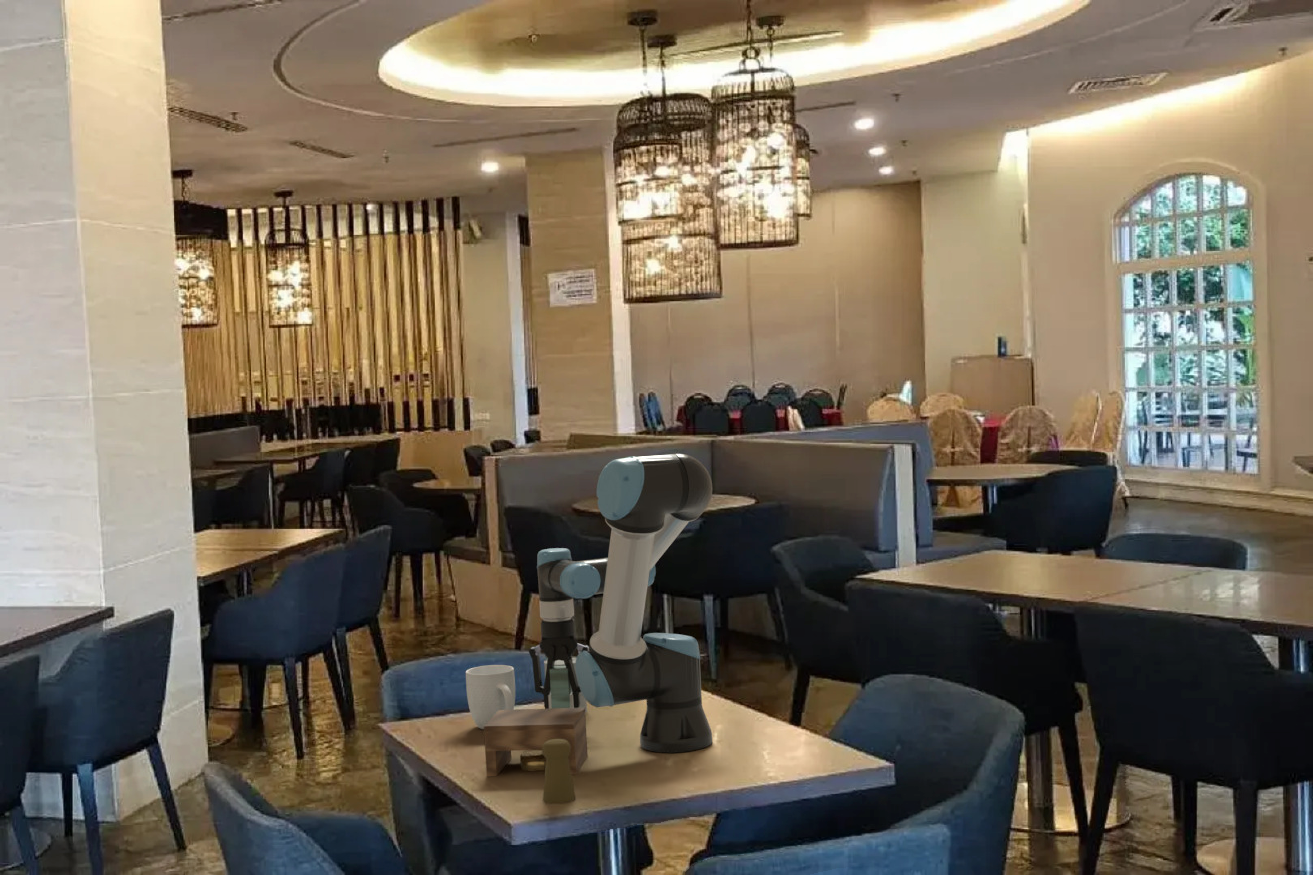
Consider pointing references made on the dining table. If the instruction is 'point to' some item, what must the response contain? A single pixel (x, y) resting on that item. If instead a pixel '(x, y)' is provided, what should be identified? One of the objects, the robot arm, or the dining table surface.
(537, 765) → the token
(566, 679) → the sweep tool
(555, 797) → the cork
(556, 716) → the wooden bench
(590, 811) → the dining table surface
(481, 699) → the mug
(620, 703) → the robot arm
